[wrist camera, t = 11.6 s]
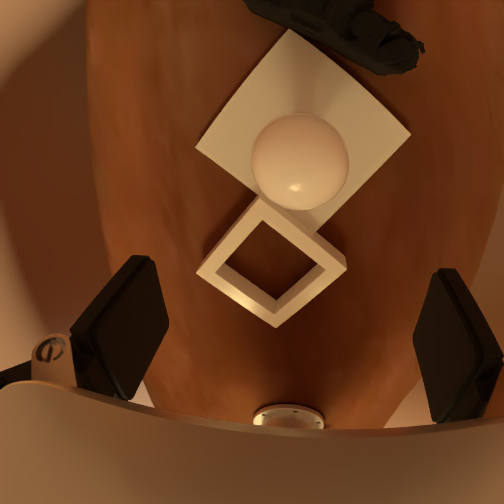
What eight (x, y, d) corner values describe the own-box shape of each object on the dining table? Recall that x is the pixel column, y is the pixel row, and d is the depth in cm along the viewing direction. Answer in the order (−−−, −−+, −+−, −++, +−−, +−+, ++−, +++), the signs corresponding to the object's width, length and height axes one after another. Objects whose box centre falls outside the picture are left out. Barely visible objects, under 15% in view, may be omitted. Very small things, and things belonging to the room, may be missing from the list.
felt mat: (408, 133, 24) (411, 134, 24) (310, 233, 31) (310, 236, 31) (289, 29, 22) (289, 28, 21) (197, 145, 28) (195, 147, 28)
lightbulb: (255, 117, 26) (224, 138, 16) (325, 96, 24) (338, 103, 14) (278, 181, 28) (262, 238, 19) (346, 164, 26) (366, 212, 17)
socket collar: (344, 256, 32) (347, 269, 30) (277, 314, 37) (275, 328, 35) (263, 188, 30) (259, 198, 28) (202, 260, 35) (195, 273, 33)
